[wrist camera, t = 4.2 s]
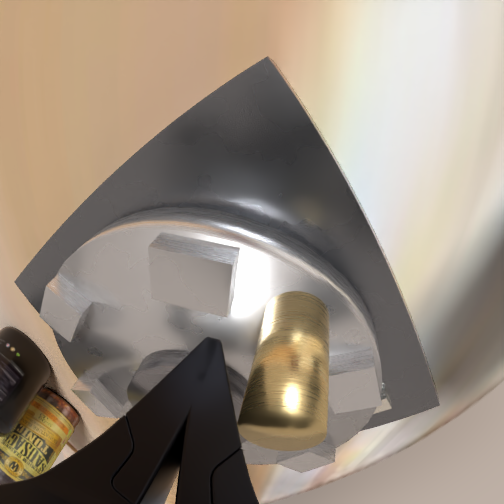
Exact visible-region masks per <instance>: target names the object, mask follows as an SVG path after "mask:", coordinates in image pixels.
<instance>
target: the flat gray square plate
mask: <svg viewBox="0 0 504 504" xmlns="http://www.w3.org/2000/svg"><path fill="white" fill-rule="evenodd" d="M162 207H197V208H206V209H215V210H220V211H225V212H229V213H233V214H237V215H241V216H245V217H248V218H251V219H254V220H256V221H259V222H261V223H264V224H267V225H269V226H272V227H274V228H277V229H279V230H281V231H282V232H284V233H286V234H288V235H290V236H292V237H294V238H295V239H297V240H299V241H301V242H303V243H304V244H306V245H307V246H309V247H310V248H311V249H313V250H314V251H316V252H317V253H318V254H320V255H321V256H323V257H324V258H325V259H327V260H328V261H329V262H330V263H331V264H332V265H333V266H334V267H335V268H336V269H337V270H338V271H339V272H340V273H341V274H342V275H344V276H345V277H346V278H347V280H348V281H349V282H350V284H351V285H352V286H353V288H354V289H355V290H356V291H357V293H358V294H359V295H360V297H361V298H362V300H363V302H364V304H365V306H366V308H367V310H368V312H369V314H370V315H371V318H372V322H373V325H374V328H375V331H376V335H377V342H378V348H379V355H380V362H381V370H382V390H381V401H382V405H381V406H377V408H376V410H375V412H374V414H373V415H372V417H371V418H370V420H369V421H368V423H367V424H366V425H365V426H364V427H363V428H362V429H361V430H360V431H362V430H366V429H369V428H373V427H377V426H380V425H383V424H387V423H390V422H393V421H396V420H400V419H403V418H406V417H409V416H412V415H415V414H417V413H420V412H423V411H426V410H428V409H431V408H434V407H436V406H439V405H440V404H439V400H438V395H437V391H436V387H435V384H434V381H433V377H432V374H431V371H430V368H429V365H428V362H427V359H426V356H425V353H424V350H423V347H422V345H421V342H420V339H419V336H418V333H417V331H416V328H415V325H414V323H413V320H412V317H411V315H410V312H409V310H408V307H407V305H406V302H405V300H404V297H403V295H402V292H401V290H400V288H399V285H398V283H397V280H396V278H395V276H394V273H393V271H392V269H391V267H390V264H389V262H388V260H387V258H386V255H385V253H384V251H383V249H382V247H381V245H380V242H379V240H378V238H377V236H376V234H375V232H374V230H373V228H372V226H371V224H370V222H369V220H368V218H367V216H366V214H365V212H364V210H363V208H362V206H361V204H360V202H359V200H358V198H357V196H356V194H355V192H354V190H353V189H352V187H351V185H350V183H349V181H348V179H347V177H346V176H345V174H344V172H343V170H342V168H341V167H340V165H339V163H338V161H337V160H336V158H335V156H334V154H333V153H332V151H331V149H330V147H329V146H328V144H327V142H326V141H325V139H324V137H323V136H322V134H321V132H320V131H319V129H318V127H317V126H316V124H315V122H314V121H313V119H312V118H311V116H310V114H309V113H308V111H307V110H306V108H305V107H304V105H303V104H302V102H301V100H300V99H299V97H298V96H297V94H296V93H295V91H294V90H293V88H292V87H291V85H290V84H289V82H288V81H287V79H286V78H285V77H284V75H283V74H282V72H281V71H280V69H279V68H278V67H277V65H276V64H275V62H274V61H273V60H272V59H270V58H269V57H266V58H264V59H263V60H261V61H259V62H258V63H256V64H255V65H253V66H251V67H250V68H248V69H247V70H245V71H244V72H242V73H240V74H239V75H237V76H236V77H234V78H233V79H231V80H230V81H228V82H227V83H225V84H224V85H223V86H221V87H220V88H218V89H217V90H215V91H214V92H213V93H211V94H210V95H208V96H207V97H205V98H204V99H203V100H201V101H200V102H199V103H197V104H196V105H195V106H193V107H192V108H191V109H189V110H188V111H187V112H185V113H184V114H183V115H181V116H180V117H179V118H177V119H176V120H175V121H174V122H172V123H171V124H170V125H169V126H167V127H166V128H165V129H164V130H162V131H161V132H160V133H159V134H157V135H156V136H155V137H154V138H153V139H151V140H150V141H149V142H148V143H147V144H146V145H144V146H143V147H142V148H141V149H140V150H139V151H137V152H136V153H135V154H134V155H133V156H132V157H131V158H129V159H128V160H127V161H126V162H125V163H124V164H123V165H122V166H121V167H119V168H118V169H117V170H116V171H115V172H114V173H113V174H112V175H111V176H110V177H109V178H108V179H107V180H106V181H105V182H103V183H102V184H101V185H100V186H99V187H98V188H97V189H96V190H95V191H94V192H93V193H92V194H91V195H90V196H89V197H88V198H87V199H86V200H85V201H84V202H83V203H82V204H81V205H80V206H79V207H78V208H77V210H76V211H75V212H74V213H73V214H72V215H71V216H70V217H69V218H68V219H67V220H66V221H65V222H64V223H63V224H62V226H61V227H60V228H59V229H58V230H57V231H56V232H55V233H54V234H53V236H52V237H51V238H50V239H49V240H48V241H47V242H46V244H45V245H44V246H43V247H42V248H41V249H40V251H39V252H38V253H37V254H36V255H35V257H34V258H33V259H32V260H31V262H30V263H29V264H28V265H27V266H26V268H25V269H24V270H23V272H22V273H21V274H20V275H19V277H18V278H17V279H16V281H15V283H16V285H17V286H18V287H19V289H20V290H21V291H22V293H23V294H24V295H25V297H26V298H27V299H28V300H29V302H30V303H31V304H32V305H33V307H34V308H35V309H36V310H37V312H38V313H39V314H40V311H41V306H42V302H43V297H44V292H45V288H46V285H47V284H48V283H49V282H50V281H51V280H53V279H54V278H55V277H56V274H57V273H58V271H59V269H60V268H61V266H62V265H63V263H64V262H65V261H66V260H67V259H68V258H69V257H70V256H71V255H72V254H73V253H74V252H75V251H76V250H77V249H79V248H80V247H81V246H82V245H83V244H84V243H86V242H87V241H88V240H89V239H91V238H92V237H93V236H94V235H95V234H97V233H98V232H99V231H100V230H102V229H103V228H104V227H106V226H108V225H109V224H111V223H113V222H115V221H116V220H118V219H120V218H123V217H126V216H128V215H131V214H134V213H137V212H140V211H145V210H151V209H156V208H162ZM49 326H50V325H49ZM50 327H51V326H50ZM51 328H52V327H51Z"/></svg>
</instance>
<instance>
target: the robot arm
mask: <svg viewBox="0 0 504 504" xmlns="http://www.w3.org/2000/svg"><path fill="white" fill-rule="evenodd" d="M241 448H242V444H241V439H240V435H239V430H238V425H237V420H236V415H235V410H234V405H233V400H232V395H231V390H230V384H229V379H228V374H227V368H226V363H225V357H224V352H223V346H222V342H221V340H219V339H216V338H212V337H206V338H204V339H203V340H202V341H201V342H200V343H199V344H198V345H197V346H196V347H195V348H194V349H193V350H192V351H191V352H190V353H189V354H188V355H187V356H186V357H185V358H184V359H183V360H182V361H181V362H180V363H179V364H178V365H177V366H175V367H174V368H173V369H172V370H171V371H170V372H169V373H168V374H167V375H166V376H165V377H164V378H163V379H162V380H161V381H160V382H159V383H158V384H157V385H155V386H154V387H153V388H152V389H151V390H150V391H149V392H148V393H147V394H146V395H145V396H144V397H143V398H142V399H141V400H140V401H138V402H137V403H136V404H135V405H134V406H133V407H132V408H131V409H130V410H129V411H128V412H127V413H126V416H125V415H123V416H122V417H121V418H120V419H119V420H118V421H117V422H116V423H115V424H113V425H112V426H111V427H110V428H109V429H107V430H106V431H105V432H104V433H103V434H102V435H100V436H99V437H98V438H96V439H95V440H94V441H92V442H91V443H89V444H88V445H87V446H85V447H84V448H82V449H81V450H79V451H78V452H76V453H75V454H73V455H72V456H70V457H69V458H67V459H65V460H64V461H62V462H61V463H59V464H58V465H56V466H55V467H53V468H51V469H50V470H48V471H46V472H44V473H42V474H40V475H38V476H36V477H33V478H30V479H26V480H21V481H16V482H11V483H5V484H0V504H164V503H165V501H166V499H167V496H168V494H169V492H170V490H171V487H172V485H173V483H174V480H175V478H176V476H177V473H178V471H179V476H178V484H177V493H176V502H175V504H259V502H258V500H257V497H256V495H255V492H254V489H253V486H252V483H251V480H250V477H249V473H248V469H247V466H246V462H245V457H244V453H243V449H241Z"/></svg>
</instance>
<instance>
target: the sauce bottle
mask: <svg viewBox="0 0 504 504" xmlns="http://www.w3.org/2000/svg"><path fill="white" fill-rule="evenodd" d="M78 422H79V416H78V414H77V413H76V412H75V410H74V409H73V408H72V407H71V406H70V405H69V404H68V403H67V402H66V401H65V400H64V399H63V398H61V397H60V396H58V395H56V394H55V393H54V392H52V391H51V390H49V389H47V388H42V389H41V391H40V392H39V394H38V395H37V397H36V398H35V399H34V401H33V402H32V404H31V405H30V407H29V408H28V410H27V411H26V413H25V414H24V416H23V417H22V419H21V420H20V422H19V424H18V425H17V427H16V428H15V430H14V431H13V433H12V434H11V435H10V436H8V437H0V484H5V483H11V482H16V481H21V480H26V479H30V478H33V477H36V476H38V475H40V474H42V473H44V472H46V471H48V470H50V468H51V466H52V465H53V463H54V462H55V460H56V458H57V457H58V455H59V453H60V452H61V450H62V449H63V447H64V446H65V444H66V443H67V441H68V439H69V438H70V436H71V435H72V433H73V432H74V428H75V426H76V425H77V424H78Z"/></svg>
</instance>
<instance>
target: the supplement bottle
mask: <svg viewBox="0 0 504 504" xmlns="http://www.w3.org/2000/svg"><path fill="white" fill-rule="evenodd" d="M50 374H51V369H50V365H49V363H48V361H47V359H46V357H45V356H44V354H43V353H42V352H41V350H40V349H39V348H38V347H37V346H36V345H35V343H34V342H33V341H32V340H31V339H30V338H28V337H27V336H26V335H25V334H23V333H22V332H21V331H19V330H17V329H16V328H13V327H4V328H3V329H1V330H0V437H8V436H10V435H11V434H12V433H13V431H14V430H15V428H16V427H17V425H18V424H19V422H20V420H21V419H22V417H23V416H24V414H25V413H26V411H27V410H28V408H29V407H30V405H31V404H32V402H33V401H34V399H35V398H36V397H37V395H38V394H39V392H40V391H41V389H42V388H43V386H44V385H45V383H46V382H47V381H48V379H49V377H50Z"/></svg>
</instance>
